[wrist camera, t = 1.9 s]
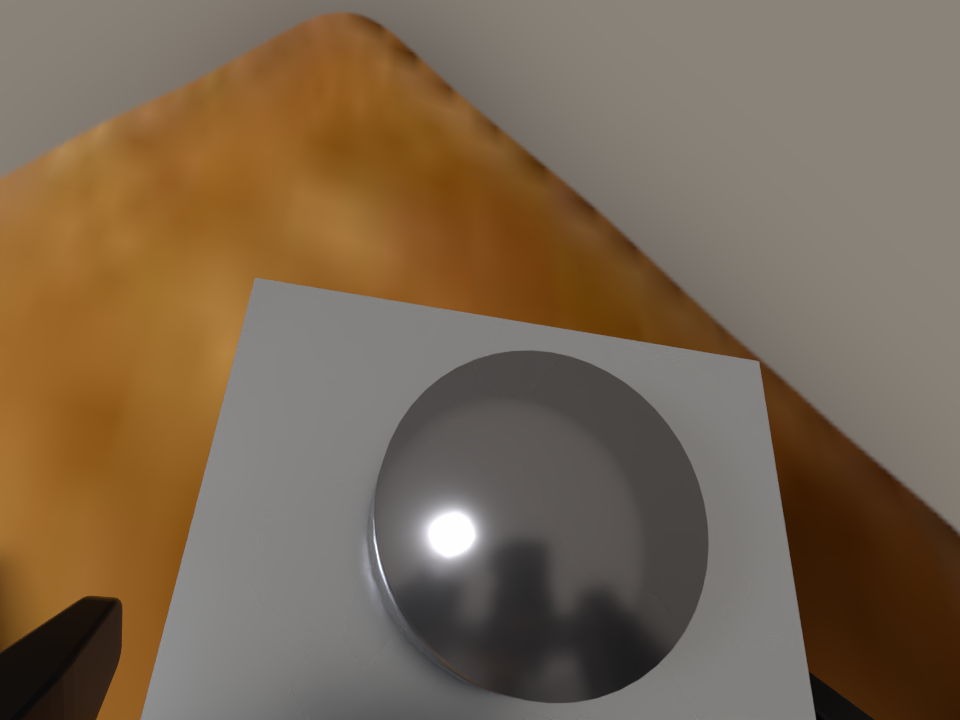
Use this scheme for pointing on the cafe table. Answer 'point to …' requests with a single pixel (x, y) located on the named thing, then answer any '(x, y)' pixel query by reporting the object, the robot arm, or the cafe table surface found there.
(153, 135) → the cafe table surface
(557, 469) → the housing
